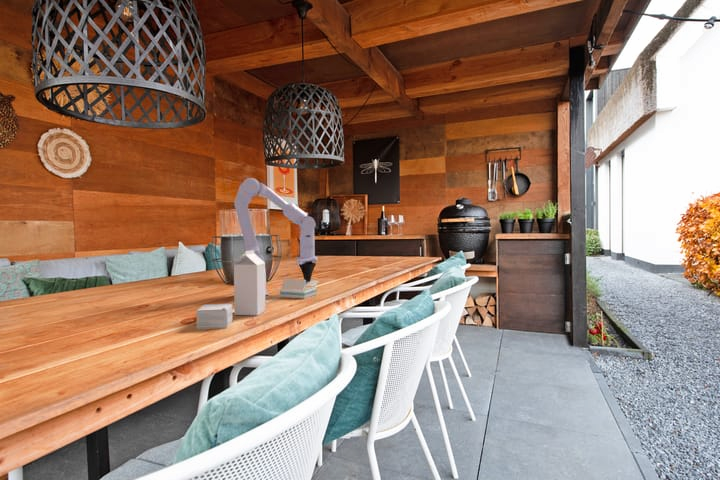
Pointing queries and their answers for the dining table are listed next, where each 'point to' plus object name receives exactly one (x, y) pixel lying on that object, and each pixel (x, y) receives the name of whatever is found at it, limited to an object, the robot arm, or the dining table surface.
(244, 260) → the milk carton
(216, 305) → the small box
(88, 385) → the dining table surface
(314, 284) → the flap far
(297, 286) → the flap near
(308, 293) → the carton
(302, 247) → the robot arm
